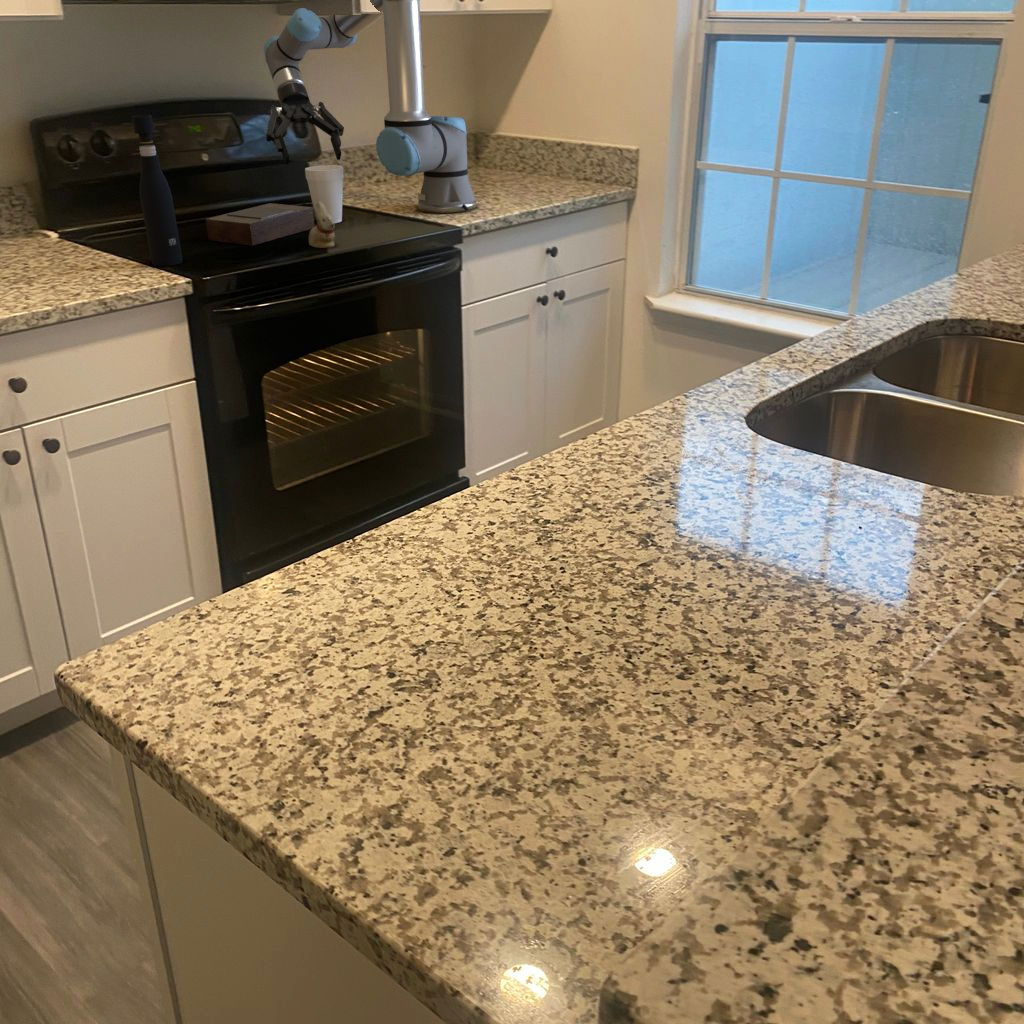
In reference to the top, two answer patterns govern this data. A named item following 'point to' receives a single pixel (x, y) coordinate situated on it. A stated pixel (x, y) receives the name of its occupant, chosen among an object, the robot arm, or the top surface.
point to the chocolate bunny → (322, 228)
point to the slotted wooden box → (260, 224)
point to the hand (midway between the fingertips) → (313, 158)
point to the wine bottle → (156, 200)
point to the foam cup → (327, 188)
